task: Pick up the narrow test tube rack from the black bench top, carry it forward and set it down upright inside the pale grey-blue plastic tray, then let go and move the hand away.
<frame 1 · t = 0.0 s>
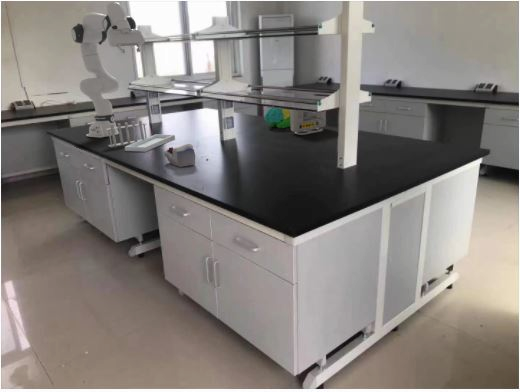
hand: (131, 52, 240), 54 cm above the counter, tool tilted 30°, fingers open, 8 cm apart
test tube rack: (129, 143, 270), on the counter
brain model: (281, 127, 293), on the counter
network device: (308, 131, 273), on the counter
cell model: (182, 164, 218), on the counter
tray: (151, 144, 263), on the counter
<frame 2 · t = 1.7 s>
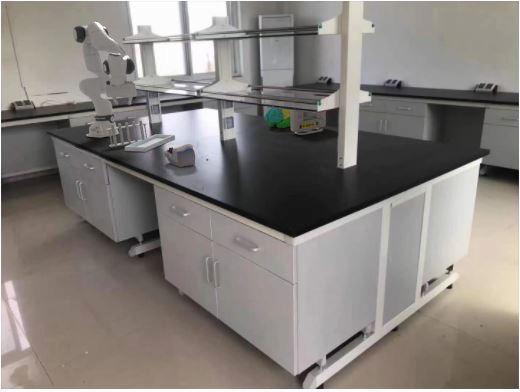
hand: (123, 104, 261), 24 cm above the counter, tool pointing down, fingers open, 8 cm apart
nothing on the counter moved.
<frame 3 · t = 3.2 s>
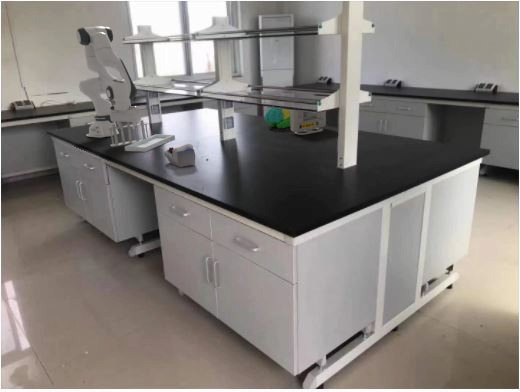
hand: (127, 128, 266), 9 cm above the counter, tool pointing down, fingers open, 8 cm apart
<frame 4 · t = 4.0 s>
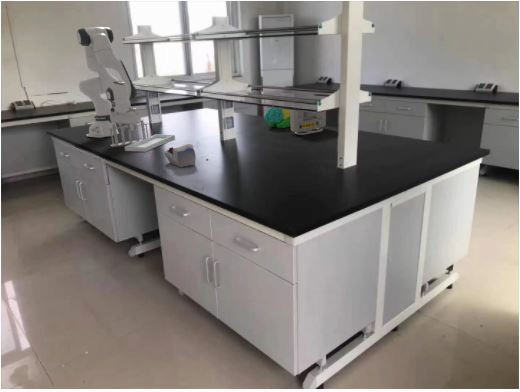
hand: (127, 130, 267), 8 cm above the counter, tool pointing down, fingers closed on test tube rack, 5 cm apart
test tube rack: (131, 143, 271), on the counter, touching gripper
everything else where it was.
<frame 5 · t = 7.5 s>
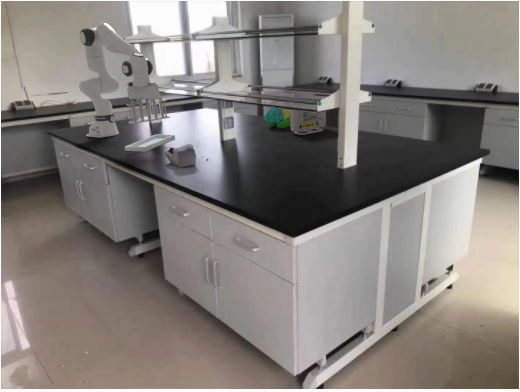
hand: (145, 106, 255), 23 cm above the counter, tool pointing down, fingers closed on test tube rack, 5 cm apart
test tube rack: (149, 120, 259), point 14 cm above the counter, touching gripper
everything else where it was.
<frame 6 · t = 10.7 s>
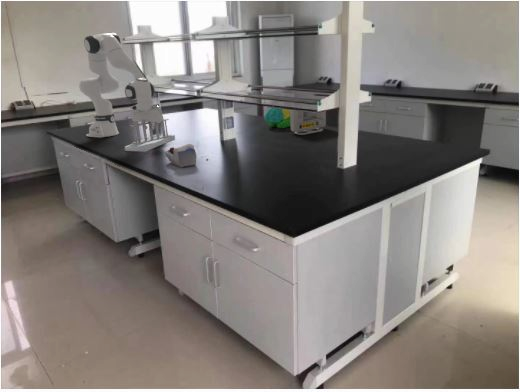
hand: (149, 129, 260), 10 cm above the counter, tool pointing down, fingers closed on test tube rack, 3 cm apart
test tube rack: (152, 140, 263), point 2 cm above the counter, touching gripper, tray
everything else where it was.
when the fingers open (10 cm above the counter, at t = 10.7 s): test tube rack stays where it is, resting on tray.
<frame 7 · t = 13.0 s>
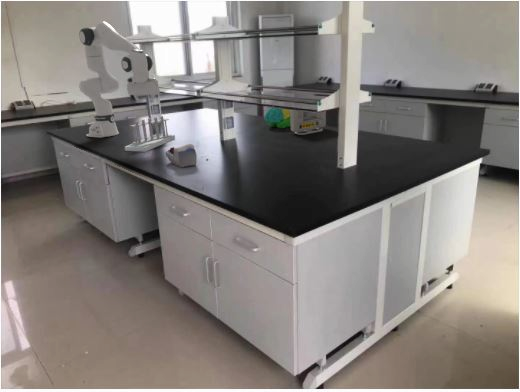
hand: (145, 102, 254), 26 cm above the counter, tool pointing down, fingers open, 8 cm apart
test tube rack: (152, 140, 263), point 2 cm above the counter, touching tray
everything else where it was.
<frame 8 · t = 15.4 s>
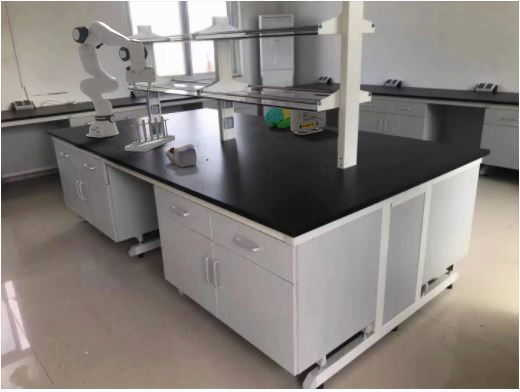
hand: (142, 89, 270), 31 cm above the counter, tool pointing down, fingers open, 8 cm apart
nothing on the counter moved.
at the end: test tube rack inside the target area on the tray (1.2 cm from its centre), point 2.3 cm above the tray's base; test tube rack tilted 0°; the gripper is holding nothing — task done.
